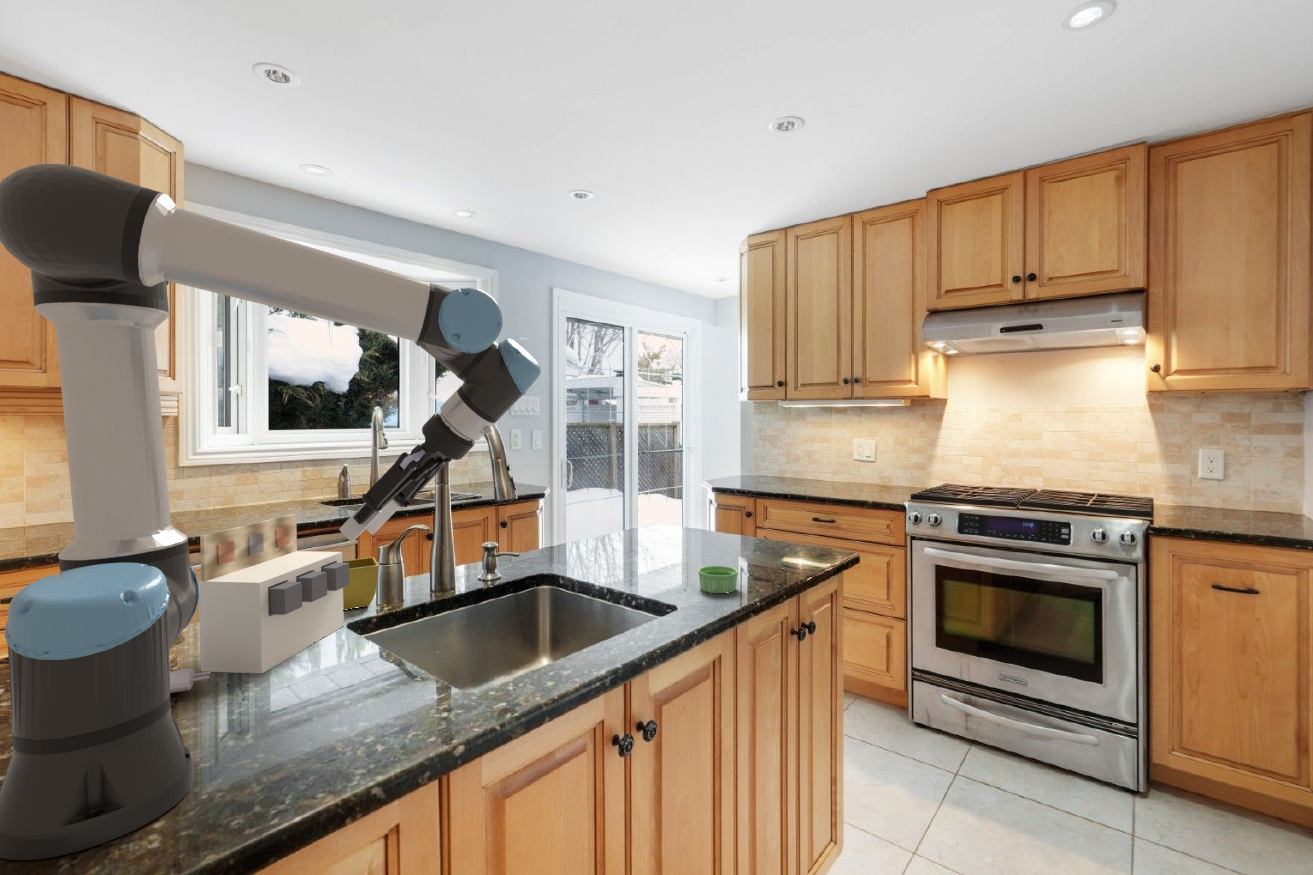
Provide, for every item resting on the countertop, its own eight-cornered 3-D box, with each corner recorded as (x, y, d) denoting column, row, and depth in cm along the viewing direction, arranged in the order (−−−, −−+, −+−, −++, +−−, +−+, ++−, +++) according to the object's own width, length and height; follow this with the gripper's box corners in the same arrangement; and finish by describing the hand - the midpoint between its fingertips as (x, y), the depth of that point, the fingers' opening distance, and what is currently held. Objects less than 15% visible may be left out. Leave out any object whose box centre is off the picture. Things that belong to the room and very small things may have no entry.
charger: (205, 704, 84) (57, 732, 77) (215, 679, 92) (82, 702, 85) (204, 670, 84) (56, 695, 76) (214, 648, 92) (81, 668, 85)
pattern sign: (206, 581, 94) (205, 536, 93) (201, 581, 94) (200, 535, 94) (298, 551, 115) (297, 513, 114) (294, 551, 115) (293, 513, 114)
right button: (336, 590, 108) (335, 568, 108) (318, 590, 108) (318, 567, 108) (349, 584, 112) (348, 562, 112) (332, 584, 112) (332, 562, 112)
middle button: (312, 601, 101) (311, 578, 101) (293, 601, 102) (293, 577, 102) (327, 594, 105) (326, 571, 105) (309, 594, 106) (309, 571, 106)
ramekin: (725, 582, 145) (725, 563, 145) (745, 592, 136) (745, 572, 136) (691, 586, 141) (691, 567, 141) (710, 597, 133) (710, 577, 133)
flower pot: (330, 616, 120) (329, 570, 120) (328, 604, 128) (327, 561, 128) (379, 609, 125) (378, 565, 124) (374, 598, 132) (374, 556, 132)
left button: (285, 614, 95) (284, 589, 95) (265, 614, 95) (265, 588, 95) (302, 606, 99) (301, 582, 99) (283, 606, 99) (283, 581, 99)
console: (262, 673, 94) (259, 582, 93) (200, 671, 94) (198, 581, 94) (343, 626, 114) (342, 551, 114) (293, 624, 115) (291, 550, 115)
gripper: (450, 446, 85) (338, 562, 87) (495, 441, 102) (402, 537, 104) (412, 408, 85) (302, 524, 87) (464, 409, 103) (372, 506, 105)
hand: (357, 531), depth 96 cm, fingers open, 5 cm apart
